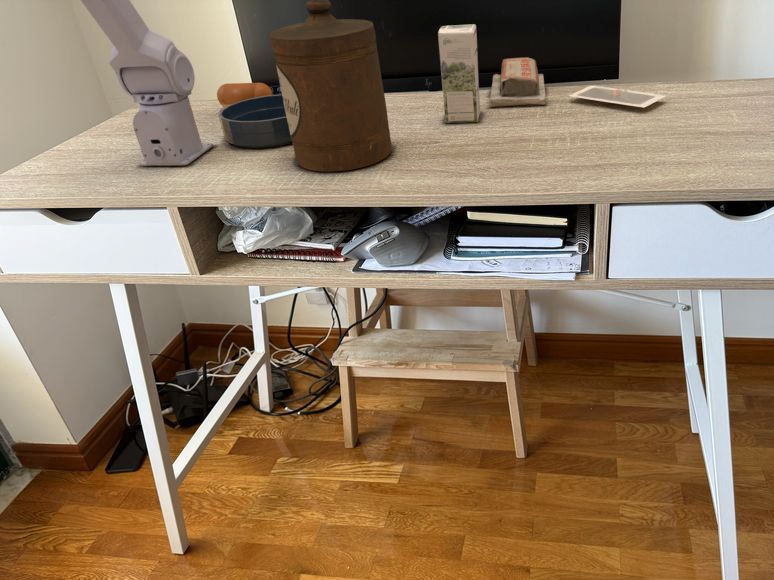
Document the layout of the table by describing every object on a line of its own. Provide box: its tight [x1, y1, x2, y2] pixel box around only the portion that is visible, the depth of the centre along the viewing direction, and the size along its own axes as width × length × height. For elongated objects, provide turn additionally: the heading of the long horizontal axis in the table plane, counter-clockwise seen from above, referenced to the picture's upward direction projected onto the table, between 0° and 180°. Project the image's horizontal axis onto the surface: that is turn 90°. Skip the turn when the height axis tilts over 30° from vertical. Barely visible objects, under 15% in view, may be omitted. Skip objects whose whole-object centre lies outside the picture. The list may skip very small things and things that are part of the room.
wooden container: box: [269, 0, 393, 173], centre depth 98 cm, size 15×15×22 cm
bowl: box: [217, 93, 293, 149], centre depth 115 cm, size 16×16×4 cm
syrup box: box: [437, 23, 481, 124], centre depth 112 cm, size 6×6×14 cm
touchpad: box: [568, 84, 667, 109], centre depth 118 cm, size 8×15×2 cm, turn 49°
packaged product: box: [489, 56, 547, 108], centre depth 126 cm, size 18×5×10 cm
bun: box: [216, 82, 274, 109], centre depth 130 cm, size 11×5×5 cm, turn 81°
